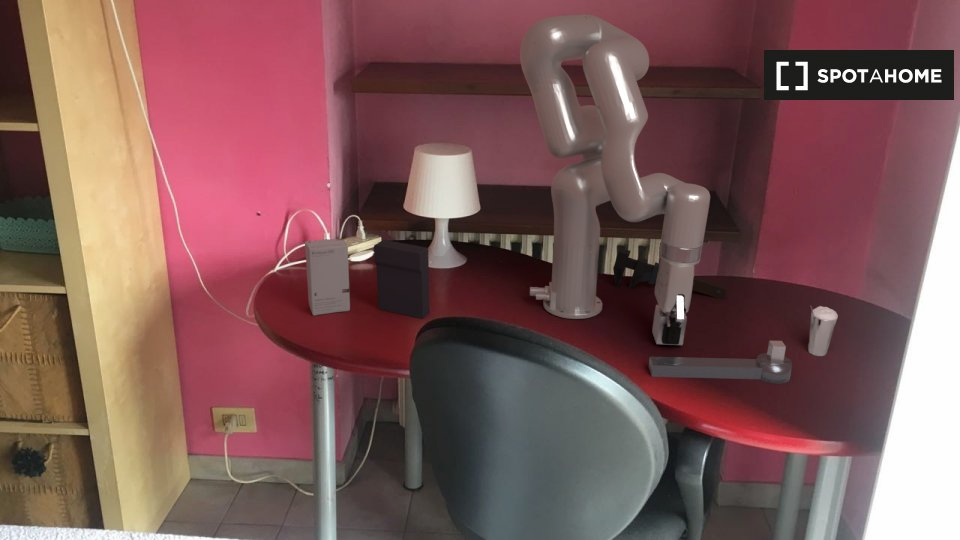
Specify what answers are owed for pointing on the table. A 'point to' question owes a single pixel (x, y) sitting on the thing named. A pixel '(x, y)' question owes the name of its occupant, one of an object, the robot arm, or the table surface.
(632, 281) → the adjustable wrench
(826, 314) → the milkshake
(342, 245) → the skincare box
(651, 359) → the ratchet
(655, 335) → the pale grey cube
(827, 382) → the table surface
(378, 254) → the black lidded box
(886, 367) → the table surface
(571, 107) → the robot arm
